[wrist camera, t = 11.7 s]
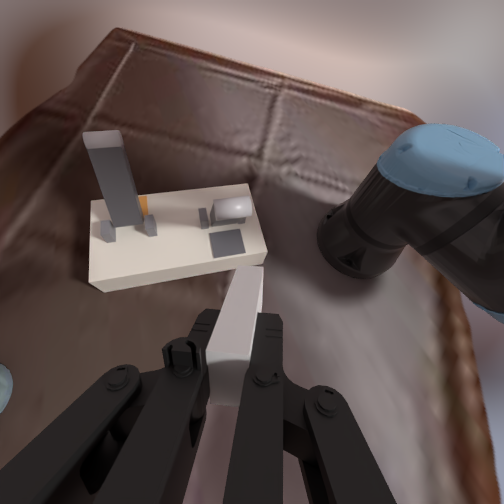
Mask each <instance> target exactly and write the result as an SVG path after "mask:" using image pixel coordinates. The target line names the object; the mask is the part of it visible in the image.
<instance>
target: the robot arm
mask: <svg viewBox="0 0 504 504" xmlns="http://www.w3.org/2000/svg"><path fill="white" fill-rule="evenodd" d="M499 151H500V149H499V148H498V147H497V146H496V145H495V144H494V143H493V142H491V141H489V140H488V139H486V138H485V137H483V136H481V135H479V134H477V133H475V132H472V131H470V130H468V129H465V128H461V127H458V126H453V125H448V124H423V125H419V126H416V127H413V128H411V129H408V130H407V131H405V132H404V133H402V134H401V135H400V136H399V137H398V138H397V139H396V140H395V141H394V143H393V144H392V145H391V146H390V147H389V148H388V149H387V151H385V152H384V153H383V154H382V155H381V156H380V157H379V160H378V161H377V163H376V165H375V166H374V167H373V169H372V170H371V171H370V173H369V174H368V175H367V177H366V178H365V179H364V180H363V182H362V183H361V184H360V186H359V187H358V188H357V190H356V191H355V192H354V194H353V195H352V196H351V198H350V199H348V200H346V201H345V202H343V203H341V204H339V205H338V206H336V207H334V208H333V209H331V210H330V211H329V212H328V213H327V214H326V215H325V217H324V218H323V220H322V221H321V223H320V225H319V227H318V232H317V239H318V244H319V247H320V250H321V252H322V254H323V255H324V257H325V258H326V260H327V261H328V262H329V263H330V264H331V265H332V266H333V267H334V268H336V269H337V270H339V271H340V272H342V273H344V274H346V275H348V276H351V277H355V278H362V279H366V278H373V277H376V276H378V275H380V274H382V273H383V272H385V271H387V270H388V269H389V268H391V267H392V266H393V265H394V263H395V262H396V260H397V258H398V257H399V255H400V254H401V252H402V251H403V249H404V247H405V246H406V245H407V244H409V245H410V246H411V247H412V248H414V249H415V250H416V251H417V252H418V253H419V254H420V255H421V256H423V257H424V258H425V259H426V260H427V261H428V262H429V263H430V264H431V265H432V266H434V267H435V268H436V269H437V270H438V271H439V272H440V273H441V274H442V275H443V276H445V277H446V278H447V279H448V280H449V281H450V282H451V283H452V284H453V285H454V286H456V287H457V288H458V289H459V290H460V291H461V292H462V293H463V294H464V295H466V296H467V297H468V298H469V300H471V301H472V302H473V304H475V305H476V306H477V307H479V308H481V309H482V310H484V311H486V312H487V313H488V314H490V315H491V316H492V317H493V318H495V319H496V320H498V321H499V322H501V323H503V324H504V155H503V154H501V153H499ZM262 292H263V267H257V266H242V265H238V267H237V269H236V272H235V274H234V277H233V280H232V282H231V285H230V288H229V290H228V293H227V296H226V298H225V301H224V304H223V306H222V309H221V310H215V309H205V310H204V311H203V312H202V313H200V314H199V315H198V317H197V319H196V321H195V324H194V325H193V327H192V329H191V331H190V333H189V335H188V337H182V338H177V339H174V340H172V341H170V342H169V343H167V344H166V345H165V346H164V347H163V349H162V353H163V358H164V364H165V367H164V368H162V369H159V370H155V371H150V372H144V373H139V370H138V368H136V367H135V366H133V365H127V364H126V365H120V366H117V367H115V368H112V369H110V370H109V371H108V372H106V373H105V374H104V375H102V376H101V377H100V378H99V379H98V380H97V381H96V382H95V383H94V384H93V385H92V386H91V387H89V388H88V389H87V390H86V391H85V392H84V393H83V394H82V395H81V396H80V397H79V398H78V399H77V400H75V401H74V402H73V403H72V404H71V405H70V406H69V407H68V408H67V409H66V410H65V411H64V412H62V413H61V414H60V415H59V416H58V417H57V418H56V419H55V420H54V421H53V422H52V423H51V424H50V425H48V426H47V427H46V428H45V429H44V430H43V431H42V432H41V433H40V434H39V435H38V436H37V437H35V438H34V439H33V440H32V441H31V442H30V443H29V444H28V445H27V446H26V447H25V448H24V449H23V450H21V451H20V452H19V453H18V454H17V455H16V456H15V457H14V458H13V459H12V460H11V461H10V462H8V463H7V464H6V465H5V466H4V467H3V468H2V469H1V470H0V504H182V503H183V499H184V496H185V492H186V488H187V485H188V481H189V478H190V474H191V471H192V467H193V463H194V460H195V456H196V453H197V449H198V446H199V442H200V438H201V435H202V431H203V428H204V424H205V421H206V405H207V402H208V399H209V397H210V404H217V405H225V406H233V407H239V411H238V417H237V423H236V429H235V434H234V440H233V446H232V452H231V458H230V463H229V469H228V475H227V481H226V487H225V492H224V498H223V504H283V450H285V451H286V452H288V453H290V454H292V455H294V456H296V457H297V458H298V460H299V464H300V468H301V472H302V476H303V480H304V484H305V488H306V492H307V496H308V500H309V504H397V503H396V501H395V499H394V497H393V495H392V493H391V491H390V489H389V487H388V485H387V483H386V481H385V479H384V477H383V475H382V473H381V471H380V469H379V467H378V465H377V463H376V460H375V458H374V456H373V454H372V452H371V450H370V448H369V446H368V444H367V442H366V440H365V438H364V436H363V434H362V432H361V430H360V428H359V426H358V424H357V422H356V420H355V418H354V416H353V414H352V412H351V410H350V408H349V406H348V403H347V402H346V400H345V399H344V397H343V396H342V395H341V394H340V393H339V392H337V391H336V390H335V389H333V388H330V387H328V386H321V385H318V386H315V387H312V388H311V389H310V390H307V389H305V388H302V387H300V386H298V385H296V384H294V383H293V382H292V381H290V380H289V379H288V378H287V376H286V375H285V373H284V371H283V365H282V361H283V321H282V320H281V318H280V316H279V314H271V313H261V310H262Z"/></svg>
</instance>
